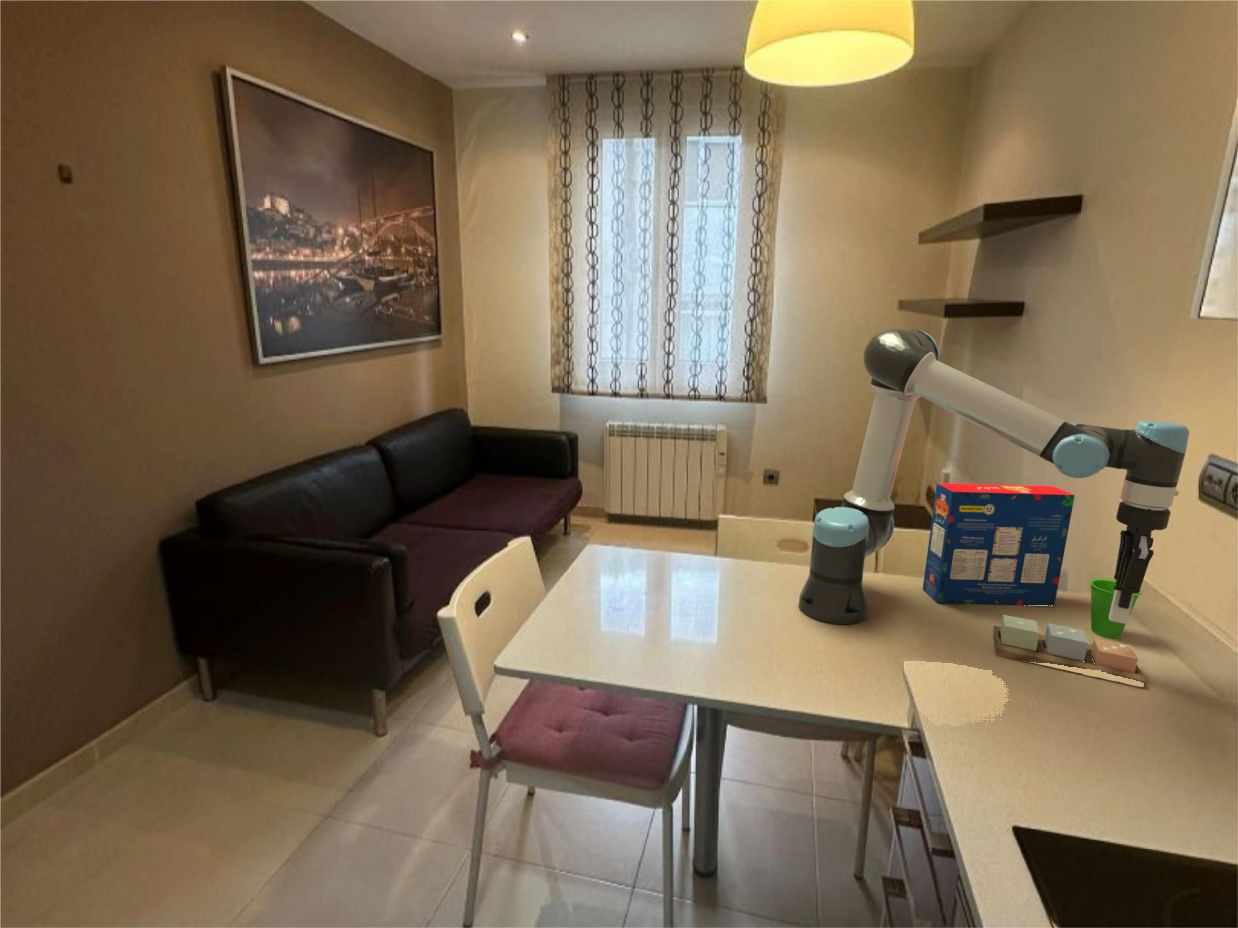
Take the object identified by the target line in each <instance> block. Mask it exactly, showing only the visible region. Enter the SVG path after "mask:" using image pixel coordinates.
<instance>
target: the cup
mask: <svg viewBox="0 0 1238 928" xmlns="http://www.w3.org/2000/svg"><path fill="white" fill-rule="evenodd" d="M1115 582H1116V580H1115V579H1109V578H1093V579H1090V580H1089V582H1088V584H1090V616H1091V617H1090V619H1091V620H1090V621H1091V623H1090V627H1091V631H1092V632H1093V633H1094V634H1096V635H1098V636H1100V637H1104V638H1108V639H1119V638H1120V637H1121V635H1122V634H1123V631H1124V629H1125V627H1126V625H1127V624H1124V623H1119V622H1114V621H1110V620H1109V613H1110V609H1111V605H1112V601H1113V596H1114V592H1115V590H1114V586H1116V584H1115ZM1141 595H1142V591H1141V590H1140V592H1139V593H1138V594H1136V593H1135V594H1134V598H1133V602H1132V606H1131V611H1130V615H1129V617H1130V616H1131V613H1132V611H1133V609H1134V606H1135V604H1136V602H1137V599H1138V598H1139V596H1141Z"/></svg>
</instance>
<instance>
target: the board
mask: <svg viewBox="0 0 1238 928" xmlns="http://www.w3.org/2000/svg"><path fill="white" fill-rule="evenodd" d="M1000 631H1001V626H1000V625H996V624H994V625H993V640H994V650H995V656H996V657H1000V658H1005V659H1009V660H1013V661H1018V662H1019V661H1020V662H1023V661H1025V662H1024V663H1027V662H1033V663H1034V662H1036V663H1050V664H1057V665H1064V666H1068V667H1077V668H1082V669H1091V670H1101V672H1106V673H1108V674H1112V675H1115V676H1121V677H1124V678H1128V679H1133V680H1136V681H1140V682H1142V683H1144V684H1145V685H1146V679H1145V678H1144V676H1143V673H1142V672H1141V669H1140V668H1139V666H1138V664H1137V665H1136V670H1135V673H1132V672H1128V671H1123V670H1118V669H1114V668H1109V667H1104V666H1100V665H1095V664H1094V662H1093V660H1092V657H1091V655H1090V654H1091V649H1092V644H1089V643H1088V644H1087V649H1086V654H1085V659H1084V661H1085V662H1083V661H1080V660H1075V659H1071V658H1066V657H1061V656H1057V655H1052V654H1048V653H1047V652H1046V650H1045V649H1046V645H1045V635H1046V634H1040V633H1039V638H1038V643H1037V649H1036V651H1033V650H1029V649H1024V648H1019V647H1015V646H1010V645H1005V644H1002V643H1000V639H1001V634H1000Z"/></svg>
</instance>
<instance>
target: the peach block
mask: <svg viewBox="0 0 1238 928" xmlns="http://www.w3.org/2000/svg"><path fill="white" fill-rule="evenodd" d="M1091 645H1092V649H1091V654H1090V655H1091V657H1092V659H1093V661H1094V663H1095V665H1100V666H1104V667H1109V668H1114V669H1118V670H1123V671H1128V672H1132V673H1135V670H1136V665H1137V666H1138V659H1139V658H1138V657H1137V655H1136V653H1135V651H1134V649H1133V647H1132V645H1131V644H1125V643H1122V642H1121V643H1120V642H1114V641H1110V640H1105V639H1102V638H1101V639H1100V638H1095V637H1093V640H1092V644H1091Z"/></svg>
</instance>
